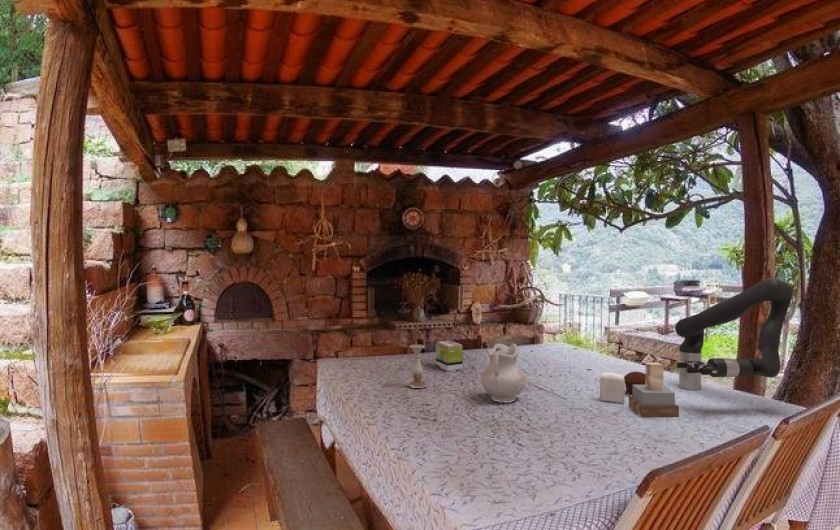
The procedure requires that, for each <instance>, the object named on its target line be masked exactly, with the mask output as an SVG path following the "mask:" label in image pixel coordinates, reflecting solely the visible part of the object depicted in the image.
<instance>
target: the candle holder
mask: <svg viewBox="0 0 840 530" xmlns="http://www.w3.org/2000/svg"><path fill="white" fill-rule="evenodd" d="M425 347H426V346H425V345H424V344H416V343H415V344H410V345H409V349H411V350H412V351H413V353H414V355H413V358H414V361H413V366H412V368H411V373H412V378H413V381H411V382H410V384H411V385H414V386H422V385H425V384H426V383H425V382H424V381H422V378H423V375H422V374H423V373H424V369H423V366H422V363H421V358H422V355H421V352H422V349H425Z"/></svg>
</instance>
